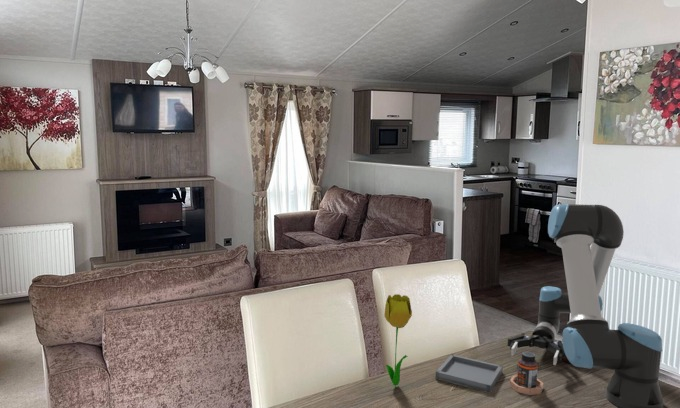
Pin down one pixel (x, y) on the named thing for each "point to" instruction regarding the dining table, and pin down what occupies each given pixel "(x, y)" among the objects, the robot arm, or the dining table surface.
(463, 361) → the tray
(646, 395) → the robot arm
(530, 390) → the holder ring
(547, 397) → the dining table surface
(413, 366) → the dining table surface
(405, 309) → the flower
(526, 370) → the supplement bottle
